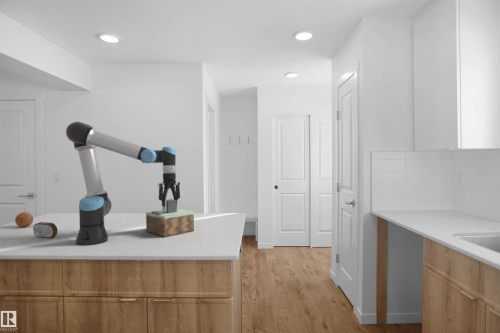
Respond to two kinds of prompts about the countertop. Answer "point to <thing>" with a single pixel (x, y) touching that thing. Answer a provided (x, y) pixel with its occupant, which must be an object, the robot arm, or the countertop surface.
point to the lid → (169, 214)
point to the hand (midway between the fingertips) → (169, 211)
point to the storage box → (169, 225)
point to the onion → (24, 219)
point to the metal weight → (171, 205)
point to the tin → (45, 230)
